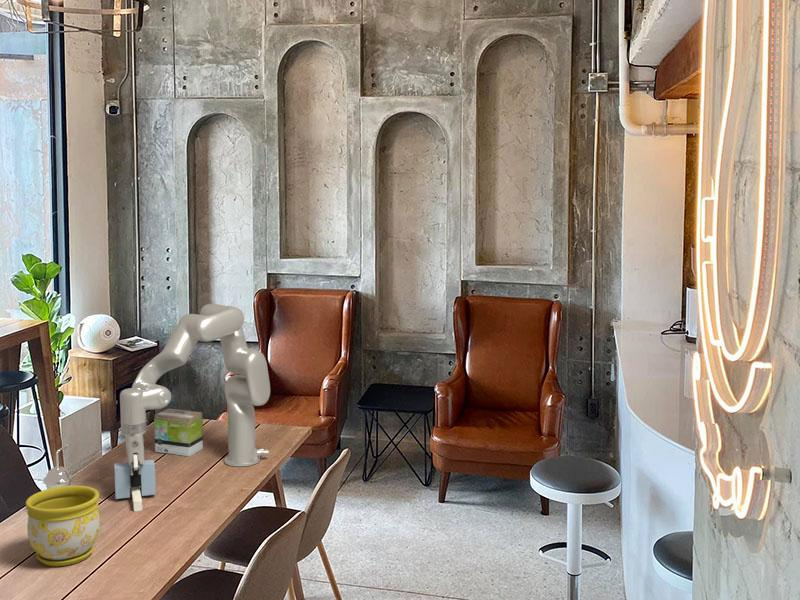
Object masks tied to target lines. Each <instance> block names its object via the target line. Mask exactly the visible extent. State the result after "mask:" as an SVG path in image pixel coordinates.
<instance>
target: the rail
mask: <svg viewBox="0 0 800 600" xmlns="http://www.w3.org/2000/svg"><path fill="white" fill-rule="evenodd" d="M130 496H131V502H132V506H133V507H132V508H133V512H141V511H143V499H142V494H141V487H140V486H139V487H130Z"/></svg>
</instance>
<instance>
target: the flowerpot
mask: <svg viewBox="0 0 800 600" xmlns="http://www.w3.org/2000/svg"><path fill="white" fill-rule="evenodd" d="M99 498H100V492H99V490H97V489H96V488H93V487H91V486H86V485H70V486H62V487H55V488H51V489H47V488H46V489H44V490H42V491H39V492H36V493H34V494H32V495H29V497H28V498H27V499H26V501H25V507H26V509H27V515H28V517H27V528H26V529H27V537H28V538H27V539H28V540H29V544H30V546H31V547H32V549H33V551H35V553H36V555H35V558H36V559H37V560H38V561H39V562H40V563H42V564H43V565H45V566H49V567H65V566H67V567H68V566H70V565H71V564H72V565H75V564H77V563H80V561H81V562H83V561H85V560H86V559H88V558H89V557H90V556H91V554H92V553H93V552H94V550H95V546H94V544H95V542H96V541H97V538H98V537H99V534H100V529H101V528H100V527H101V520H100V519H101V518H100V511H99V507H98V506H99ZM82 560H83V561H82Z"/></svg>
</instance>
